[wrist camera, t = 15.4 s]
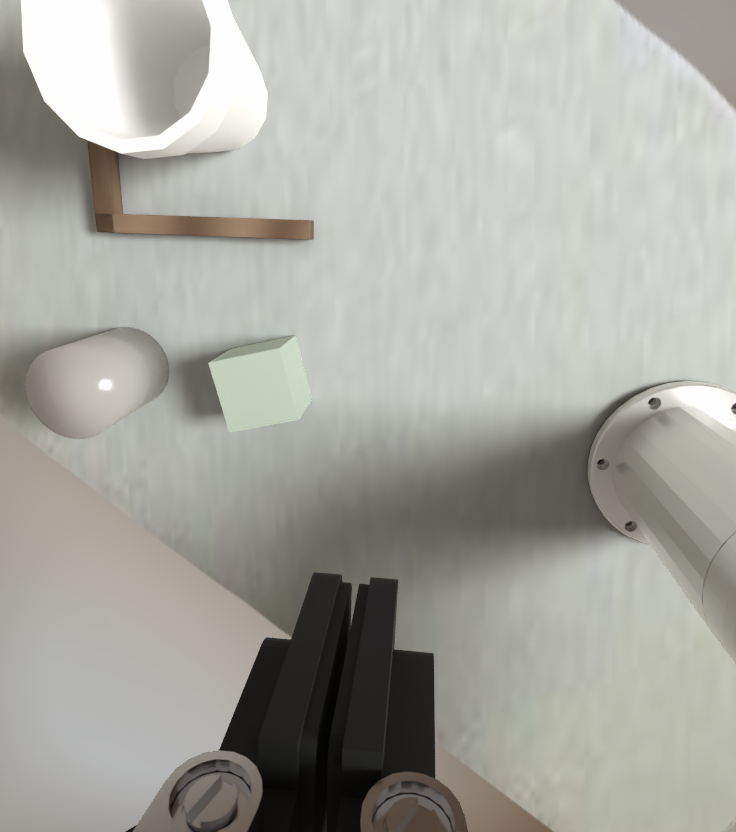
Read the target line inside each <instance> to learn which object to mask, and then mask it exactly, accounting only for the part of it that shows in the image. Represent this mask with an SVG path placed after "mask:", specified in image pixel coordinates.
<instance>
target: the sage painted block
mask: <svg viewBox="0 0 736 832" xmlns="http://www.w3.org/2000/svg"><path fill="white" fill-rule="evenodd" d="M208 364H209V367H210V370H211V374H212V377H213V380H214V384H215V387H216V390H217V394H218V397H219V400H220V404H221V407H222V410H223V414H224V417H225V420H226V424H227V427H228V430H229V433H230V432H235V431H241V430H246V429H252V428H257V427H263V426H268V425H274V424H279V423H285V422H290V421H296V420H299V419H300V417H301V416H302V414H303V413H304V411H305V410H306V408H307V407H308V405H309V404H310V402H311V401H312V397H311V393H310V389H309V385H308V381H307V377H306V373H305V369H304V365H303V361H302V358H301V354H300V350H299V346H298V342H297V338H296V335H294V336H289V337H284V338H279V339H274V340H270V341H265V342H260V343H255V344H250V345H245V346H241V347H236V348H231V349H230V350H228V351H227V352H225V353H223V354H222V355H220V356H218V357H217V358H215V359H213V360H212V361H210V362H208Z"/></svg>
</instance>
